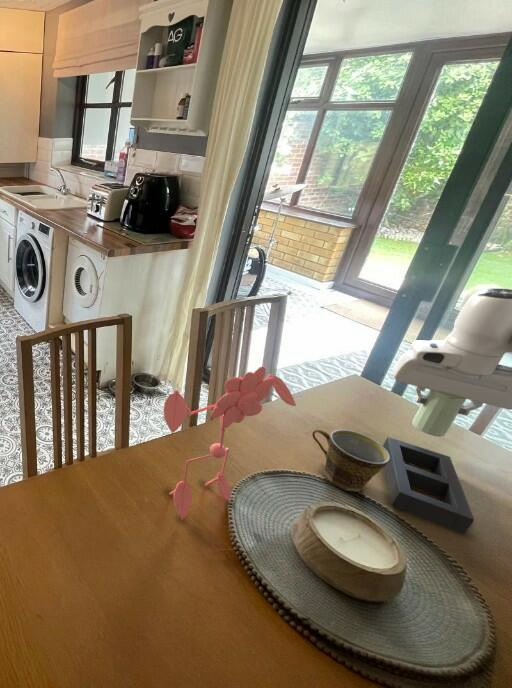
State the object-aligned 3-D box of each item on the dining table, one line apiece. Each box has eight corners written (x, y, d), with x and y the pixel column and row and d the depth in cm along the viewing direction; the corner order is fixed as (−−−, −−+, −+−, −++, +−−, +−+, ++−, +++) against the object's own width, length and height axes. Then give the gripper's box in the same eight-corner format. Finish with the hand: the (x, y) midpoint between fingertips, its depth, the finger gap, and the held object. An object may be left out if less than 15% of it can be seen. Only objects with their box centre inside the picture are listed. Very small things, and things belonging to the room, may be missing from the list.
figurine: (133, 499, 86) (162, 359, 71) (233, 474, 93) (279, 340, 78) (180, 570, 73) (228, 415, 58) (293, 535, 79) (363, 387, 64)
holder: (441, 469, 94) (449, 456, 93) (464, 533, 80) (474, 519, 78) (380, 449, 100) (387, 436, 98) (391, 505, 85) (399, 492, 84)
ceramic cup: (376, 482, 91) (395, 448, 87) (364, 506, 85) (383, 471, 81) (309, 448, 100) (323, 416, 96) (293, 468, 94) (308, 435, 90)
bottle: (442, 426, 100) (471, 374, 93) (447, 440, 95) (479, 387, 89) (410, 417, 103) (436, 366, 96) (414, 430, 98) (442, 378, 92)
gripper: (532, 366, 87) (499, 417, 93) (404, 339, 98) (382, 386, 104) (544, 380, 83) (508, 433, 89) (409, 350, 94) (385, 399, 99)
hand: (439, 407), depth 96 cm, fingers closed on bottle, 6 cm apart
